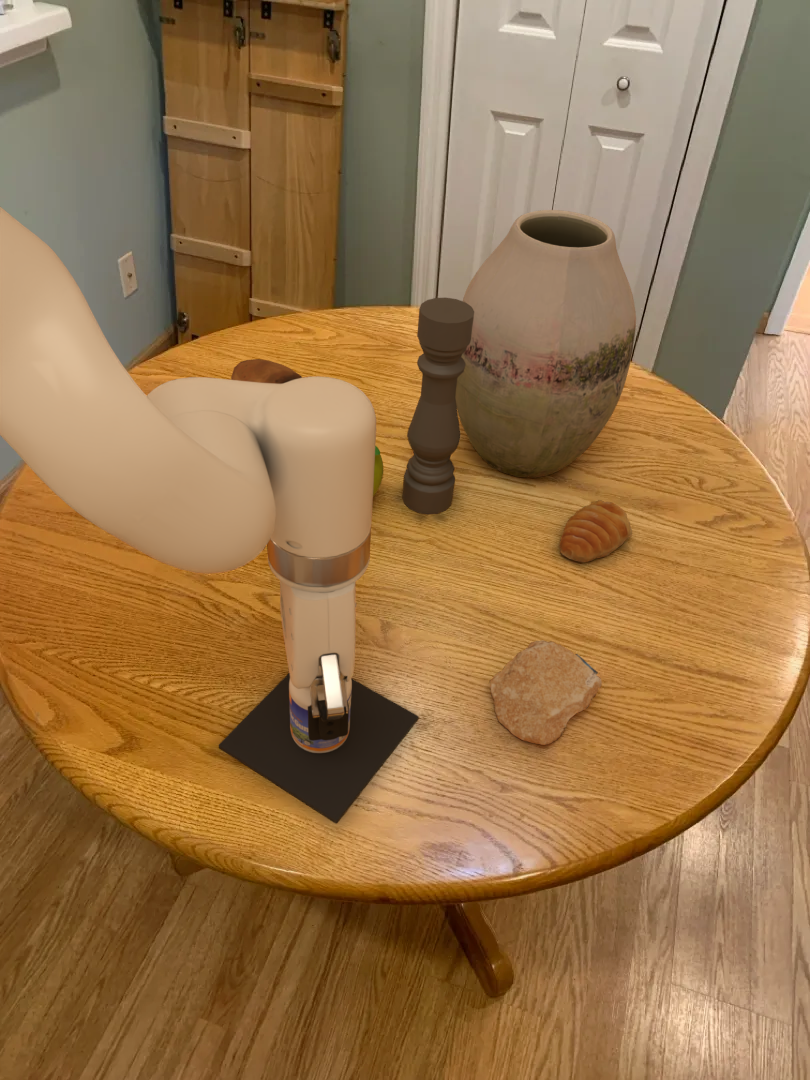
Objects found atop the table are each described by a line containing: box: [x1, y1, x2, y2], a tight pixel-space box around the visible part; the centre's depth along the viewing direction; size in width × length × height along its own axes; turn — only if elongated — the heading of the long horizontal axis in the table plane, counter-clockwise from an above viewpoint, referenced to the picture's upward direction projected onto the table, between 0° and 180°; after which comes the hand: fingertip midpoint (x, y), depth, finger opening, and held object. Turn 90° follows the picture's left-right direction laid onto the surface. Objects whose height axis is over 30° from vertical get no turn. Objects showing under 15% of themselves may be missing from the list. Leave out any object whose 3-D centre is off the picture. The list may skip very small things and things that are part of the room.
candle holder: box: [401, 297, 474, 515], centre depth 95 cm, size 6×6×25 cm
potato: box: [230, 358, 303, 384], centre depth 112 cm, size 8×14×8 cm
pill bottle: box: [289, 666, 352, 753], centre depth 74 cm, size 5×5×10 cm
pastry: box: [559, 499, 633, 563], centre depth 98 cm, size 9×7×4 cm
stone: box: [489, 639, 603, 746], centre depth 80 cm, size 8×10×4 cm
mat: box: [218, 673, 419, 825], centre depth 77 cm, size 13×13×1 cm
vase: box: [455, 209, 637, 479], centre depth 102 cm, size 21×21×30 cm
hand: (319, 688), depth 73 cm, fingers open, 9 cm apart
